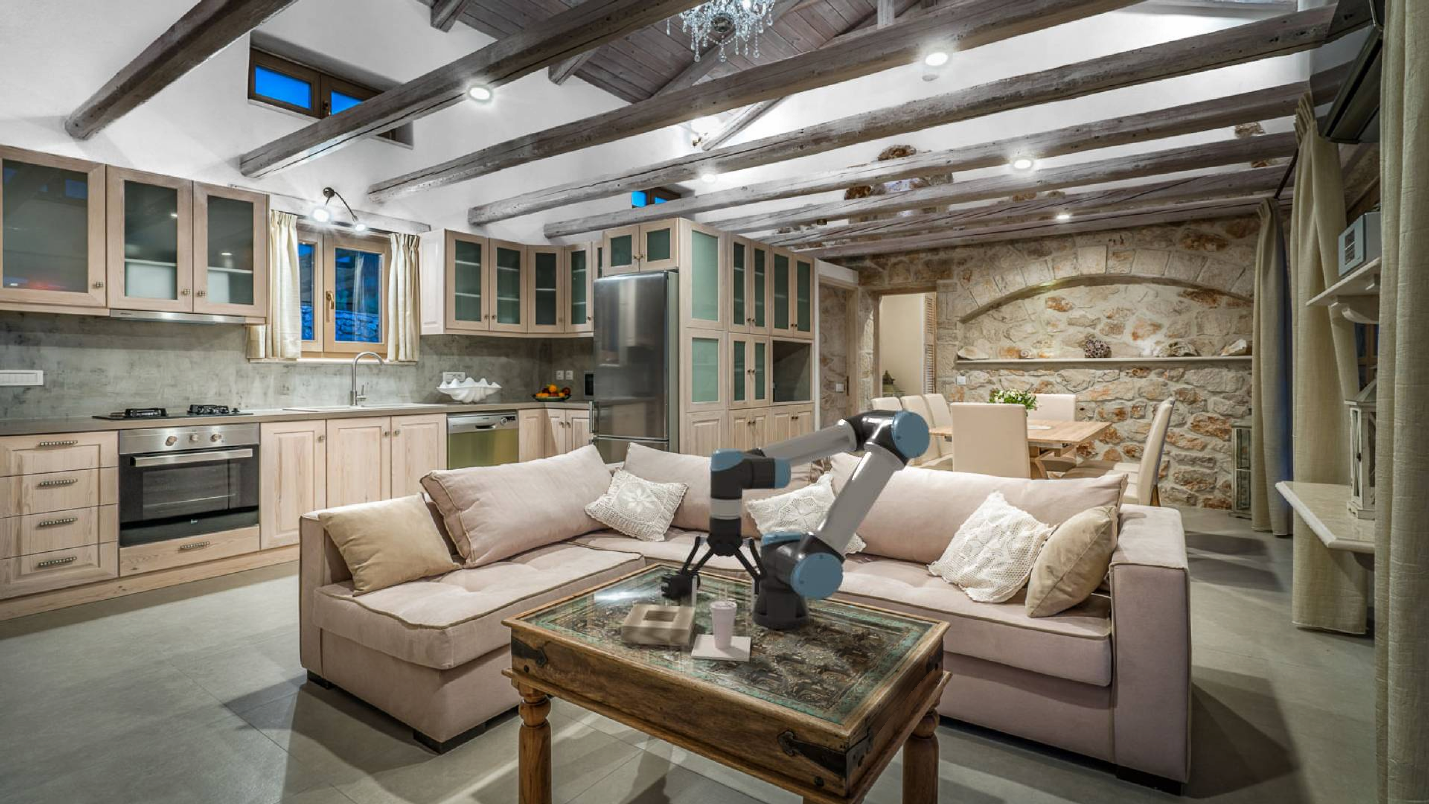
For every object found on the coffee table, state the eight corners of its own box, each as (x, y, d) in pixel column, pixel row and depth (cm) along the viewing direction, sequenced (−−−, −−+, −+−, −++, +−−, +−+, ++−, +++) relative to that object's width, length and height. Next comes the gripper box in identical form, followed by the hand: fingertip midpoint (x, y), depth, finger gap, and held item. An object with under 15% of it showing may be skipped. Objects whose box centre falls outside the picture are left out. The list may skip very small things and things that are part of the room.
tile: (750, 639, 158) (750, 637, 158) (748, 661, 145) (749, 658, 145) (697, 636, 159) (697, 634, 159) (690, 658, 146) (690, 655, 146)
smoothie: (740, 650, 150) (741, 589, 149) (713, 652, 148) (714, 591, 148) (731, 639, 156) (732, 581, 156) (705, 642, 154) (706, 583, 154)
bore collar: (695, 622, 169) (695, 607, 169) (687, 646, 153) (688, 629, 153) (634, 619, 170) (634, 603, 170) (620, 642, 154) (620, 625, 154)
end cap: (677, 602, 185) (677, 578, 185) (659, 596, 190) (660, 573, 190) (700, 594, 193) (701, 571, 192) (683, 589, 197) (683, 567, 197)
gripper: (779, 515, 154) (776, 604, 155) (674, 510, 156) (672, 598, 157) (779, 521, 147) (777, 615, 147) (669, 516, 149) (667, 609, 149)
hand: (723, 607), depth 152 cm, fingers open, 13 cm apart
